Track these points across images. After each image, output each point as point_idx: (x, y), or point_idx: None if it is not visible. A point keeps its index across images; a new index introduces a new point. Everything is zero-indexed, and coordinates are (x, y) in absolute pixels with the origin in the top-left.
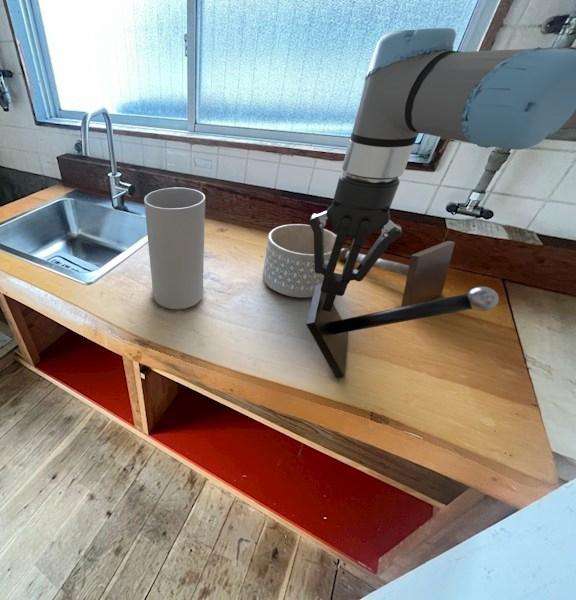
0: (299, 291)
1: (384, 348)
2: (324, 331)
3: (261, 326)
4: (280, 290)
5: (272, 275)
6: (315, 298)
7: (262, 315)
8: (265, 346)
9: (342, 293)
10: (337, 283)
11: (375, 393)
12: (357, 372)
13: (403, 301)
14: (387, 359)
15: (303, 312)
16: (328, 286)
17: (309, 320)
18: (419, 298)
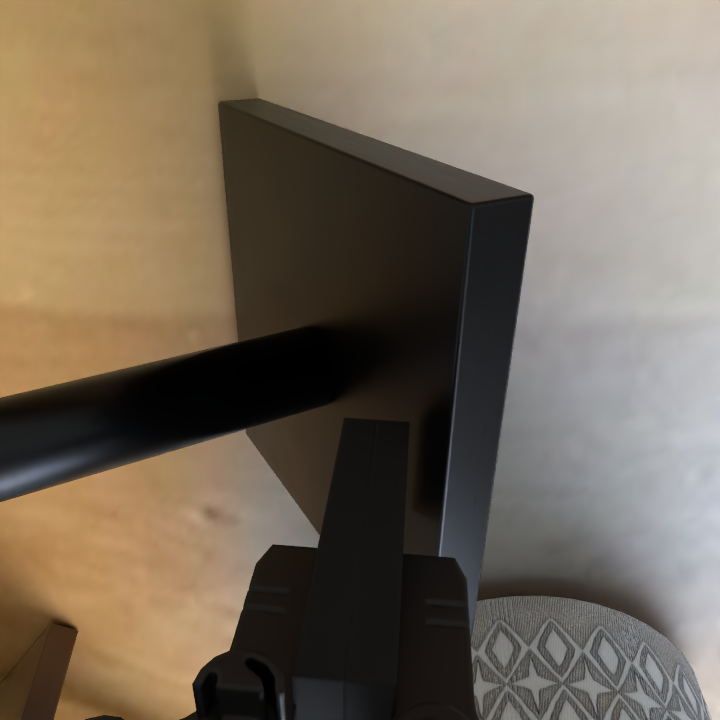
0: (510, 627)
1: None
2: (363, 250)
3: (692, 352)
4: (605, 618)
5: (681, 704)
6: (467, 524)
7: (686, 436)
8: (666, 200)
9: (269, 569)
10: (323, 656)
11: (68, 71)
12: (170, 188)
13: (63, 662)
14: (65, 327)
15: None
16: (404, 617)
17: (508, 245)
18: (12, 689)
